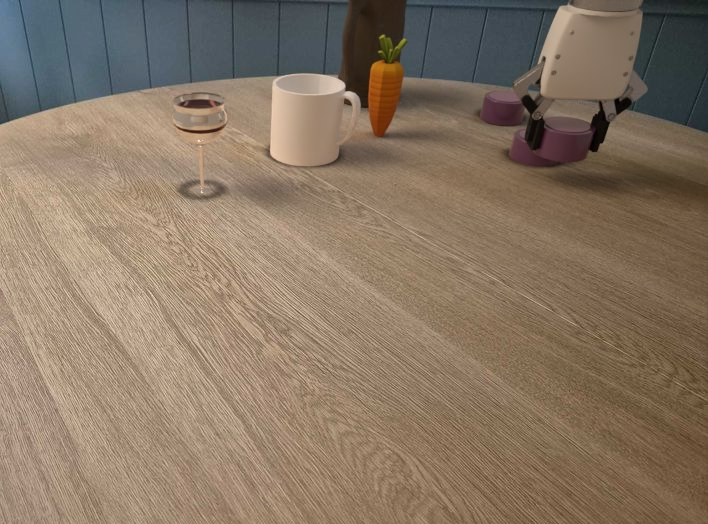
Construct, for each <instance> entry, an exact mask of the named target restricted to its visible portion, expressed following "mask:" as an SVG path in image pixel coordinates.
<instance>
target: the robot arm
mask: <svg viewBox="0 0 708 524" xmlns="http://www.w3.org/2000/svg"><path fill="white" fill-rule="evenodd" d="M643 2H644V0H568V2H567V5H560V6H559V7H558V9H557V11H556V13H555V16H554V18H553V20H552V22H551V25H550V28H549V29H548V33H547V34H546V38H545V40H544V43H543V45H542V49H541V52H540V55H539V58H538V62H537V64H536V65H535V66H533V67H532V68H531V69H529V70H528V71H526V72H525V73H523V74H522V75H521V76H520V77H518V78H516V79H515V80H514V81H512V82H511V88H512V90H513V92H514V93H516V95H517V96H518V98H519V99H520V101H521V102H522V104H523V105H524V107H525V108H526V109H525V110H526V111H527V112H528V114H529V116H528V121H527V123H526V124H527V125H526V127H525V129H526V132H525V136H524V139H525V141H526V142H527V144H528V146H529V148H530V149H531V150H533V151H536V150H537V149H538V147H539V143H540V139H541V136H542V132H543V128H544V125H545V120H544V116H545V113H546V112H547V111H548V110H549V109H550V108H551V106H552V105H553V103H555V101H556V100H557V101H558V100H559V101H596V102H597V106H598V111H597V113H594V115H593V116H592V119H591V121H590V123H591V124H593V125H594V126H595V127H596V131H595V134H594V138H593V141H592V144H591V147H590V150H589V152H591V153H598V152H599V149H600V145H601V144H604V142H605V139H606V136H607V134H608V130H609V127H610V124H611V123H612V122H613V121H615V120H616V118H617V117H618V116H619V115H620V114H621V113H623V112H625V110H627V109H628V108H630V107H631V106H632V104H633V103H634V102H636V101H638V100H639V99H640V98H641V97H643V96H644V95H645V94H647V92H648V90H649V88H648V85H646V83H645V82H644V81H643V79H642V78H641V77H640V76H639V74H638V73H637V72H636V70H634V64H635V60H636V57H637V52H638V47H639V44H640V43H639V42H640V39H641V38H640V37H641V31H642V25H643V24H642V23H643V14H644V13H643V10H641V9H640V7H642V5H643ZM531 85H533V86H534V87H535V88H536V89H538V90H540V91H539V92H538V93H537V94H536V96H535V97H534V99H533V97H532V95H530V92H529V91H528V89H529V87H530V86H531ZM628 86H629V88H628V89H627V87H628ZM626 90H627V91H626Z"/></svg>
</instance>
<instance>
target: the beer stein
mask: <svg viewBox="0 0 708 524" xmlns="http://www.w3.org/2000/svg"><path fill="white" fill-rule="evenodd" d="M407 2H408V0H348V2H347V11H346V16H345V20H344V24H343V29H342V37H341V64H340V69H339V73H338V75H337V79H339V80H341V81H343V82H344V83H345V91H350V92H353V93H356V95H357V96H358V97H359V99H360V103H361V108H369V102H368V94H369V81H370V71H371V67H372V65H373V64H374V63H375V62H377V61H381V60H383V58H382V57H381V56H380V54H379V53H378V51H382V48H381V44H380V40H379V37H380V36H382V35H385V37H386V39H387V38H390V39H391V42H392V46H393V51H394V49H395V48H396V47H397V46H398V45H399V43H400V42H401V41H402V40H403V39H404V36H405V35H404V34H405V25H406V11H407V10H406V9H407ZM387 46H388V45H387ZM388 53H389V49H388ZM401 56H402V51H401V52H400V53H399V55H398V56H397V58H396V59H395V61H396V62H399V63H400V64H401ZM344 104H346V105H350V106H352V103H351V102H350V101H349V100H348V99H345V98H344Z"/></svg>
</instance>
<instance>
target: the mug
mask: <svg viewBox="0 0 708 524" xmlns="http://www.w3.org/2000/svg"><path fill="white" fill-rule="evenodd" d="M271 89H272V90H271V116H270V117H271V120H270V121H271V122H270V145H269V147H270V149H269V153H270V154H269V155H270V156H271V158H273V160H276V161H277V162H280V163H282V164H285V165H291V166H295V167H319V166H325V165H328V164H330V163H333V162H334V161H336V160H337V159H338V157H339V155H340V154H339V153H340V146H341V145H343V144H345V143H346V142H348V141H349V140H350V139H351V138H352V136H353V135H354V133H355V131H356V128H357V126H358V123H359V120H360V115H361V109H362V107H361V103H360V99H359V97H358V96H357V95H356V93H353V92H350V91H345V83H344V82H343V81H341V80H339V79H338V77H334V76H331V75H326V74H320V73H319V74H318V73H292V74H285V75H281V76H278V77H277V78H275V79H273V81H272V88H271ZM344 98H345V99H348V100H349V101H350V102H351V103H352V105H351V108H352V114H351V119H350V122H349V123H350V124H349V126H348V128H347V130H346V132H345V133H344V135H342V124H343V114H344V104H345V103H344ZM341 135H342V136H341Z"/></svg>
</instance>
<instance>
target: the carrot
mask: <svg viewBox="0 0 708 524" xmlns="http://www.w3.org/2000/svg"><path fill="white" fill-rule="evenodd" d="M379 40H380V44H381V48H382V51H378V53H379V54H380V56H381V57H382V58H383V60H381V61H377V62H375V63H374V64H373V65H372V67H371V71H370V81H369V94H368V102H369V107H368V116H369V122H370V126H371V129H372V133H373V135H374V137H377V138H381V137H383V136H384V135H385V133H386V132H387V130H388V129H389V127H390V125H391V123H392V121H393V119H394V116H395V114H396V111H397V108H398V104H399V101H400V96H401V91H402V87H403V81H404V76H405V70H404V67H403V65H402V64H401V62H400V63H399V62H396V61H395V59H396V58H397V56H398V55H399V53H400V52H401V53H402V50H403V49H404V47H405V46H406V45H407V43H408V42H409V40H407V39H406V38H403V40H402V41H401V42H400V43H399V45H398V46H397V47H396V48H395V49H394V51H393V46H392V42H391V39H390V38H387V39H386V37H385V35H382V36H380V37H379ZM387 45H388V46H387ZM388 49H389V53H388Z"/></svg>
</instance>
